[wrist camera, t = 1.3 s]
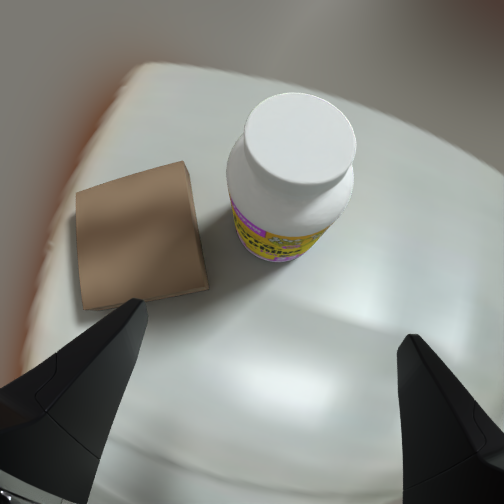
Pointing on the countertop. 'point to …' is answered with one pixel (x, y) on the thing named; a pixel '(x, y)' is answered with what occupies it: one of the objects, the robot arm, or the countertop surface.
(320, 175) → the supplement bottle
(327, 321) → the countertop surface
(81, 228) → the walnut pedestal
